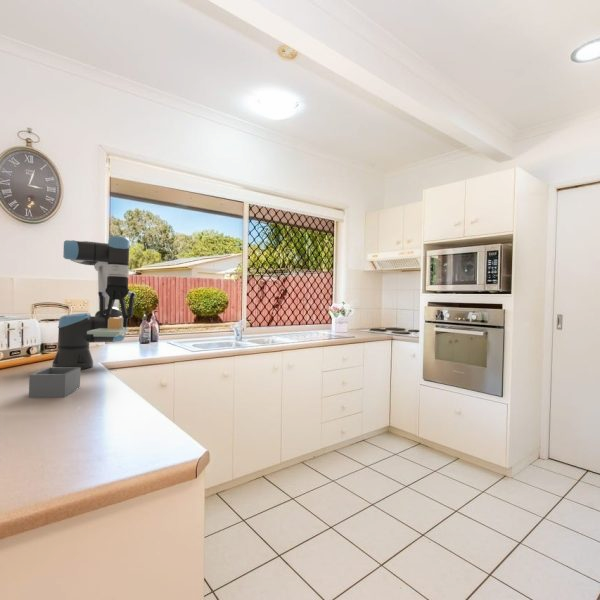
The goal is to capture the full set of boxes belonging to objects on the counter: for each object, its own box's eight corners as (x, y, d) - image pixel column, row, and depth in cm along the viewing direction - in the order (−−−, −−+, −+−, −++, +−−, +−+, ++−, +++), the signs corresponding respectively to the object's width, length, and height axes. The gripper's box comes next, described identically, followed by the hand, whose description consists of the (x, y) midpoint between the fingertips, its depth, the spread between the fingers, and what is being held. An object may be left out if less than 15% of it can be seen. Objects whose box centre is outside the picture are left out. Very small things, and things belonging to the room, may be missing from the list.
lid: (103, 332, 146) (104, 317, 146) (132, 332, 148) (132, 317, 148) (86, 336, 129) (87, 319, 129) (119, 337, 131) (119, 320, 131)
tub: (47, 387, 124) (48, 367, 124) (79, 387, 126) (80, 367, 126) (28, 397, 113) (29, 374, 113) (64, 397, 115) (65, 374, 115)
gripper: (90, 274, 140) (88, 336, 140) (138, 276, 143) (136, 336, 143) (97, 275, 147) (95, 334, 147) (143, 277, 150) (141, 334, 150)
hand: (116, 335), depth 145 cm, fingers closed on lid, 4 cm apart
